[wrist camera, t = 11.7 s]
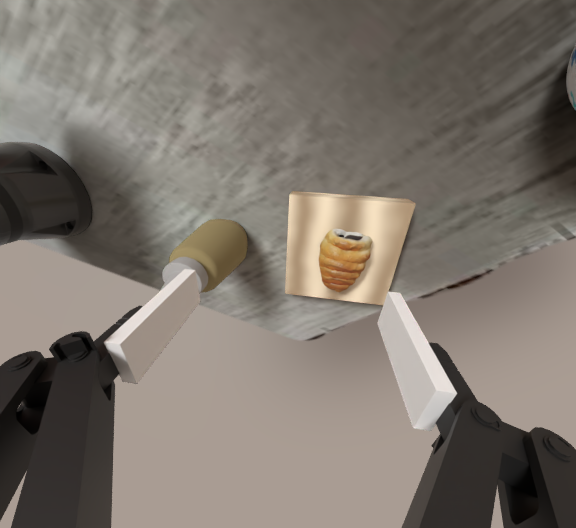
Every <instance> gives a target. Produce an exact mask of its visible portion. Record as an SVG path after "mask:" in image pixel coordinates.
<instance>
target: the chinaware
mask: <svg viewBox="0 0 576 528" xmlns="http://www.w3.org/2000/svg"><path fill="white" fill-rule="evenodd" d="M566 86H567V93H568V97H569V100H570V102H571V104H572V106H573V107H574V109H575V110H576V44H575V47H574V49H573V52H572V54H571V57H570V61H569V65H568V69H567V77H566Z"/></svg>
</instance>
